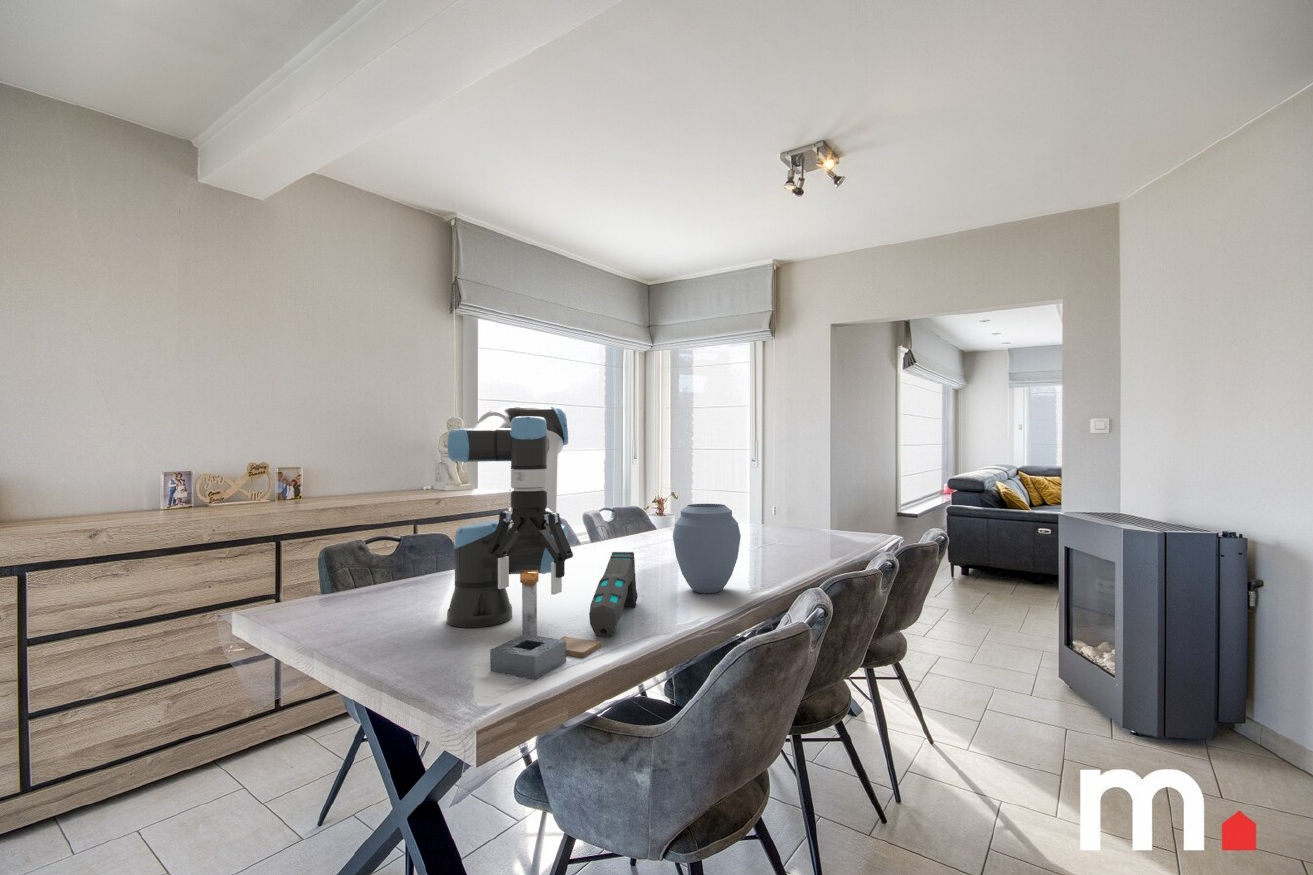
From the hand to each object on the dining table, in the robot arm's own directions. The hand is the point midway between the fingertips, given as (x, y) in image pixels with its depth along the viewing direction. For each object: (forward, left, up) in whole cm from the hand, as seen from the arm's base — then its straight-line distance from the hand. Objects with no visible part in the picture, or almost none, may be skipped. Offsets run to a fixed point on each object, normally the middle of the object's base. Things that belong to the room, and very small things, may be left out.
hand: (529, 590), depth 125 cm
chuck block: (+8, -11, -11) cm, 17 cm away
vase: (+19, +58, -11) cm, 62 cm away
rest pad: (+10, +1, -11) cm, 15 cm away
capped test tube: (0, 0, -11) cm, 11 cm away
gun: (+8, +23, -12) cm, 27 cm away
